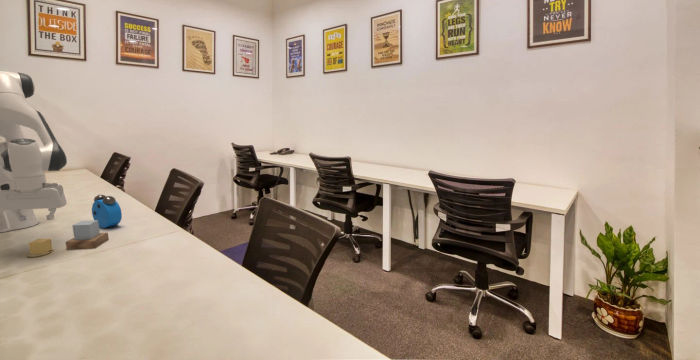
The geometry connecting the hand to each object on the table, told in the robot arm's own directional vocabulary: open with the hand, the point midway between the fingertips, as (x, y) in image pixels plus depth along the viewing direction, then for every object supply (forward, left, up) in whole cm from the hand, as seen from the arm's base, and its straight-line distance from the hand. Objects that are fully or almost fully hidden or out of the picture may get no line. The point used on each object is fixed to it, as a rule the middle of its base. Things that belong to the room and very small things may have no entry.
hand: (36, 220), depth 129 cm
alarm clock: (+9, +29, -13) cm, 33 cm away
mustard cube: (0, 0, -13) cm, 13 cm away
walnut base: (+13, +6, -13) cm, 19 cm away
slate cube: (+13, +6, -10) cm, 17 cm away
